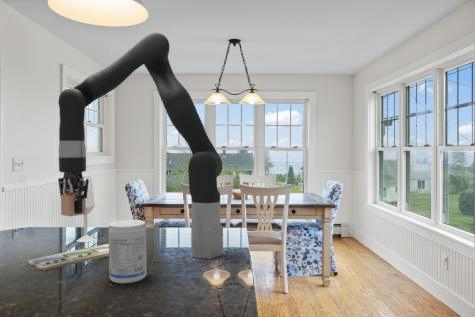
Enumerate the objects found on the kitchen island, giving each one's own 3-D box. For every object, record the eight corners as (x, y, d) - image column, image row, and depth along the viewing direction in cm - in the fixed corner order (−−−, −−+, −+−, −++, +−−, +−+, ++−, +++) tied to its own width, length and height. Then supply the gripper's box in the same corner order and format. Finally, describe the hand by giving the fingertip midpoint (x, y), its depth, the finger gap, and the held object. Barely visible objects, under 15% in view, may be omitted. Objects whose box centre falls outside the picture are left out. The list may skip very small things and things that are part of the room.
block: (85, 214, 115) (85, 194, 115) (69, 216, 111) (69, 196, 111) (77, 212, 118) (76, 193, 118) (61, 214, 114) (60, 194, 114)
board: (127, 251, 127) (127, 247, 127) (44, 270, 107) (43, 266, 107) (108, 245, 135) (108, 242, 135) (26, 263, 115) (26, 258, 115)
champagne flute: (97, 238, 148) (97, 176, 148) (90, 242, 141) (90, 177, 141) (80, 238, 148) (79, 176, 148) (73, 242, 141) (72, 177, 141)
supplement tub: (113, 273, 104) (113, 219, 104) (149, 271, 105) (148, 219, 105) (105, 285, 95) (104, 226, 95) (143, 283, 96) (143, 225, 96)
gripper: (96, 155, 113) (97, 212, 113) (72, 156, 122) (73, 208, 122) (72, 156, 107) (73, 216, 107) (48, 156, 116) (49, 211, 116)
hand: (73, 212), depth 115 cm, fingers closed on block, 5 cm apart
